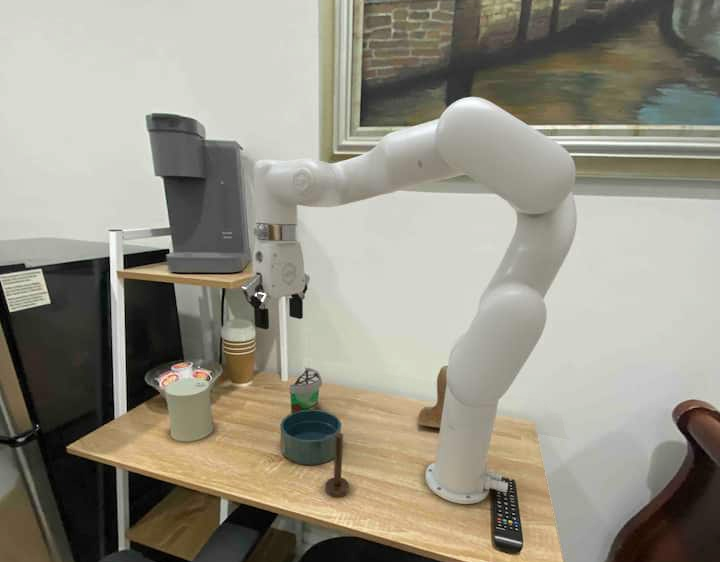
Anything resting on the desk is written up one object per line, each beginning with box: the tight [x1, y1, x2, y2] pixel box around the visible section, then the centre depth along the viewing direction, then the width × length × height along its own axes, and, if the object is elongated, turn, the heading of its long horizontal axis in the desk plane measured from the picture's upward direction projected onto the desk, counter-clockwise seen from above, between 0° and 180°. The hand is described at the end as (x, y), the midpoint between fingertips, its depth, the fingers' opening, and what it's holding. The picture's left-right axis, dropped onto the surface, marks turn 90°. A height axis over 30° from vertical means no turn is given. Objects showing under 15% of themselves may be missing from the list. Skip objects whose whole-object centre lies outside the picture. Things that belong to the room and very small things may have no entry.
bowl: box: [279, 409, 343, 466], centre depth 86 cm, size 13×13×6 cm
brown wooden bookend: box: [417, 365, 448, 429], centre depth 98 cm, size 15×12×15 cm
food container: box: [289, 366, 323, 414], centre depth 100 cm, size 12×6×10 cm, turn 168°
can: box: [164, 377, 214, 443], centre depth 89 cm, size 9×9×12 cm
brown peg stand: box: [325, 432, 350, 498], centre depth 73 cm, size 4×4×12 cm
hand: (279, 322), depth 78 cm, fingers open, 9 cm apart
